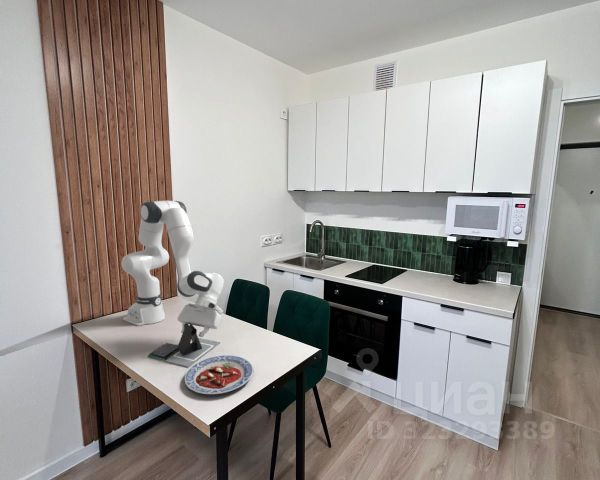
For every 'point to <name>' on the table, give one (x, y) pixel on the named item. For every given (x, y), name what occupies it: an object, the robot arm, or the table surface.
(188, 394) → the table surface
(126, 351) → the table surface
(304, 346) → the table surface
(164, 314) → the robot arm
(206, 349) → the marked board
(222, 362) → the ceramic plate
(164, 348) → the ink pad
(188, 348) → the phone stand
